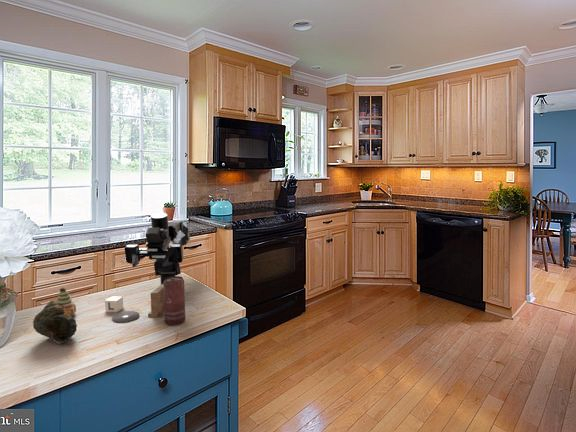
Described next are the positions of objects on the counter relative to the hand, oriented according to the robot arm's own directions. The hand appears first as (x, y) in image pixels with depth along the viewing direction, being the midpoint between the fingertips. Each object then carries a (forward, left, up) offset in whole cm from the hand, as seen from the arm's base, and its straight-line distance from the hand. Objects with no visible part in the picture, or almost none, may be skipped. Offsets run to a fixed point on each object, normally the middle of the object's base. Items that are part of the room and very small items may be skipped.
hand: (147, 265), depth 119 cm
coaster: (+3, -7, -16) cm, 18 cm away
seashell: (+20, -18, -17) cm, 31 cm away
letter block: (-3, -14, -17) cm, 22 cm away
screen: (-3, +2, -16) cm, 17 cm away
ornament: (+5, -27, -17) cm, 32 cm away
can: (+5, +10, -17) cm, 20 cm away
